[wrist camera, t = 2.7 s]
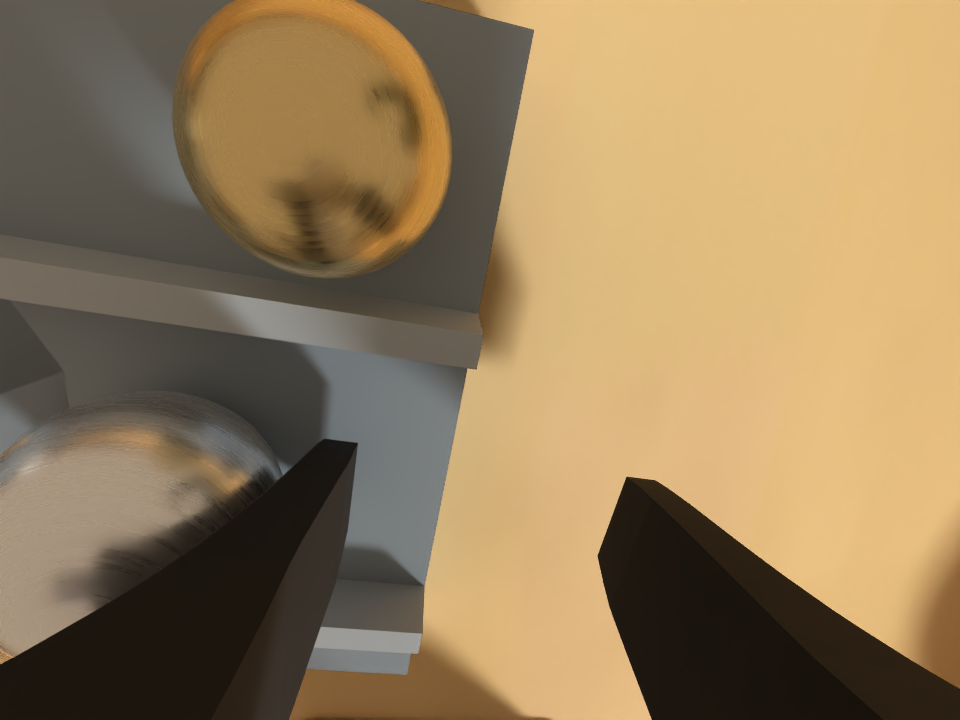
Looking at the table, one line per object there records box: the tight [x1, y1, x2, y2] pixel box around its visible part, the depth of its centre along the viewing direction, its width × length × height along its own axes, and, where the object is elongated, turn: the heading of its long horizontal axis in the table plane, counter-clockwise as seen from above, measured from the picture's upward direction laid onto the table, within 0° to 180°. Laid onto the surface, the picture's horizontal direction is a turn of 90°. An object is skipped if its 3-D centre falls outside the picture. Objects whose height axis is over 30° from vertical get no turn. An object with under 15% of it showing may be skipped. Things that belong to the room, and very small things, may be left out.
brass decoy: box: [172, 0, 452, 279], centre depth 6 cm, size 3×3×3 cm
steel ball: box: [0, 390, 283, 658], centre depth 7 cm, size 4×4×4 cm
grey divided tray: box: [0, 0, 534, 675], centre depth 9 cm, size 17×14×4 cm
